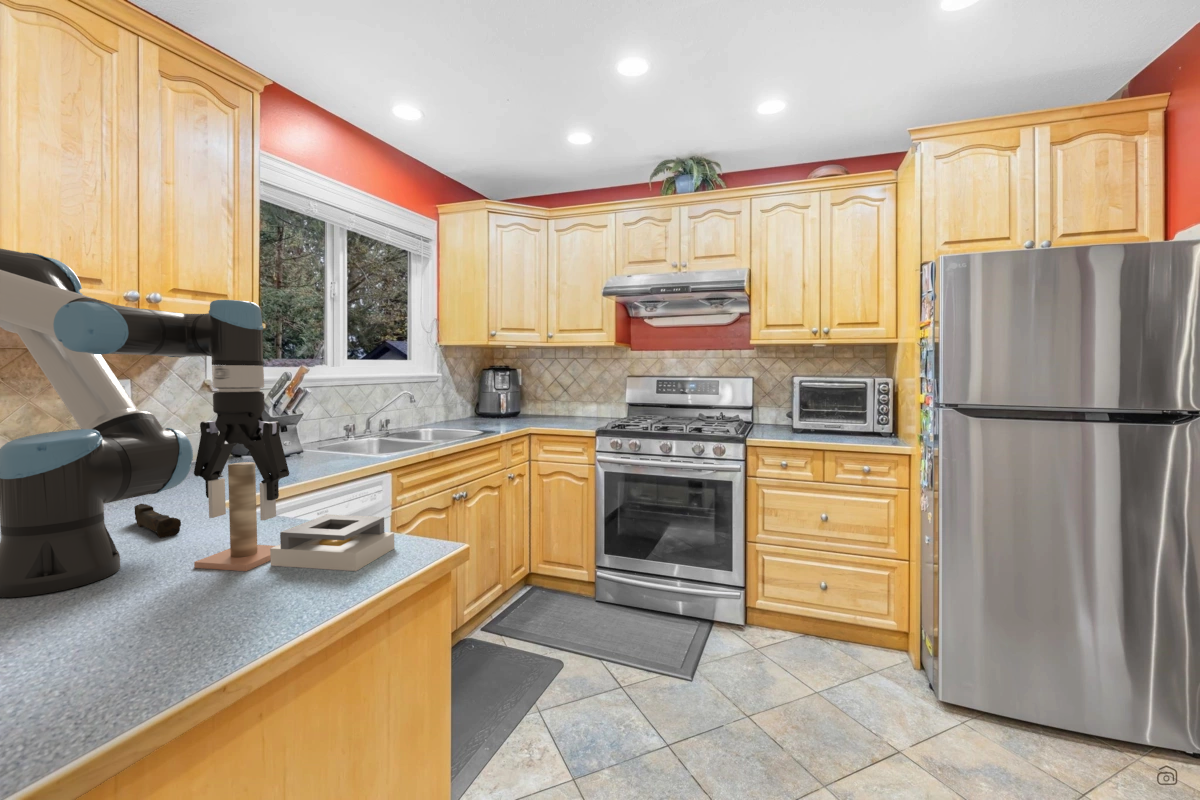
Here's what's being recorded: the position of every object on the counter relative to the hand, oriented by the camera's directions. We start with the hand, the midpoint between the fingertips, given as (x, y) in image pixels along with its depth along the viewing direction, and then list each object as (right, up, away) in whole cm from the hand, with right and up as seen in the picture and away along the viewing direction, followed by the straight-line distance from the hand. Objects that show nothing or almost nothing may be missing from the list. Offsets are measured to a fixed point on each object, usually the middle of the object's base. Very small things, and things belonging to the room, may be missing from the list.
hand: (242, 517), depth 96 cm
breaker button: (+15, -8, +2) cm, 17 cm away
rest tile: (0, -8, 0) cm, 8 cm away
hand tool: (-32, -7, +19) cm, 38 cm away
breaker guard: (+15, -7, +2) cm, 17 cm away
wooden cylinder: (0, -7, 0) cm, 7 cm away
